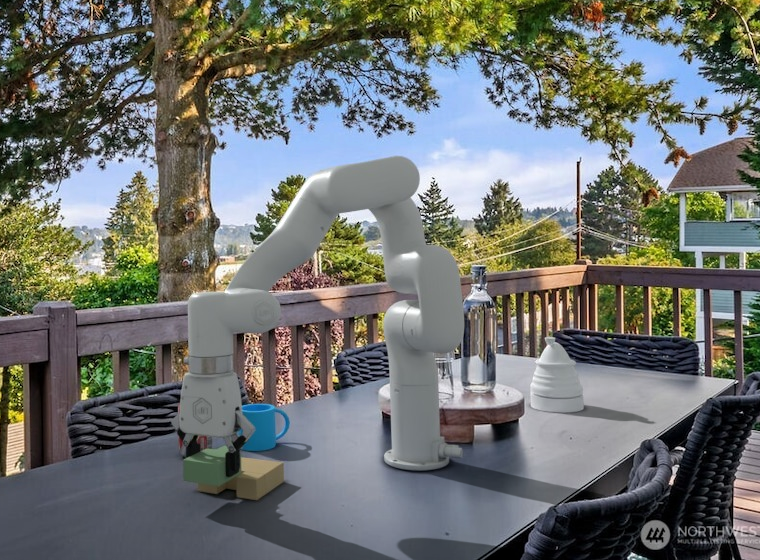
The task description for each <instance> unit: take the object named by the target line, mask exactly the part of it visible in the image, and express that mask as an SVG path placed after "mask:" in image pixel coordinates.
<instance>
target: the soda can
mask: <svg viewBox="0 0 760 560" xmlns="http://www.w3.org/2000/svg"><path fill="white" fill-rule="evenodd" d="M179 413H180V403H179V404H178V406H177V415H178V414H179ZM177 437H178V438H177V439H178V440H177V441H178V451H179V454H180V455H181V456H183V457H184V458H186V447H184V446H183V441H182V440H181V439H180V437H179V436H178V435H177ZM197 443H200V451H203V450H205V449H207V448H208V449H213V437H208V436H199V439H198V441H197Z"/></svg>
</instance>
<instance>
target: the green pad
mask: <svg viewBox="0 0 760 560" xmlns="http://www.w3.org/2000/svg"><path fill="white" fill-rule="evenodd" d="M227 452H228V448H227V446H226V445H223V446H221V447H219V448H218V447H217V448H216V449H214V448H212V449H208V448H207V449H205V450H203V451H200V452H198V453H196V454H194V455H192V456H190V457H188V458H186V457H185V458H184V459H182V462H183V463H182V467H183V469H182V470H183V471H182V472H183V476H182V478H183V480H182V481H183V482H187V483H194V484H198V483H200V484H207V485H213V486H221V485H222V484H224V483H226V482H228V481H229V480H231V479H233V478H234V477H236V476H238V475H240V474H241V457H242V452H240V469H239V472H238V473H237V474H235V475H233V476H231V477H227V476H226V461H225V454H226V453H227Z"/></svg>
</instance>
